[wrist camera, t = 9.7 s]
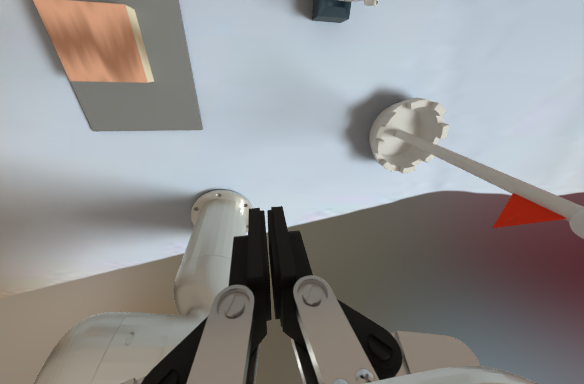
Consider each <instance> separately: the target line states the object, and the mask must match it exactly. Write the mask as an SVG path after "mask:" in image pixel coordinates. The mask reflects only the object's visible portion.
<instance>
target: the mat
mask: <svg viewBox="0 0 584 384" xmlns="http://www.w3.org/2000/svg"><path fill="white" fill-rule="evenodd" d="M72 1H86V2H99V3H113V4H124V5H127V6H129V7H131V8H133V9H134V10H135V13H136V17H137V21H138V24H139V28H140V31H141V35H142V39H143V42H144V46H145V50H146V53H147V57H148V61H149V64H150V68H151V72H152V75H153V79H154V82H148V83H139V82H89V81H70V82H71V84H72V86H73V89H74V91H75V93H76V95H77V97H78V99H79V102H80V104H81V106H82V108H83V110H84V113H85V115H86V117H87V119H88V121H89V124H90V126H91V128H92V130H93V131H155V130H203V127H202V122H201V117H200V111H199V106H198V101H197V95H196V90H195V85H194V79H193V74H192V69H191V64H190V58H189V53H188V48H187V42H186V37H185V32H184V26H183V21H182V16H181V10H180V5H179V0H72Z"/></svg>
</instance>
